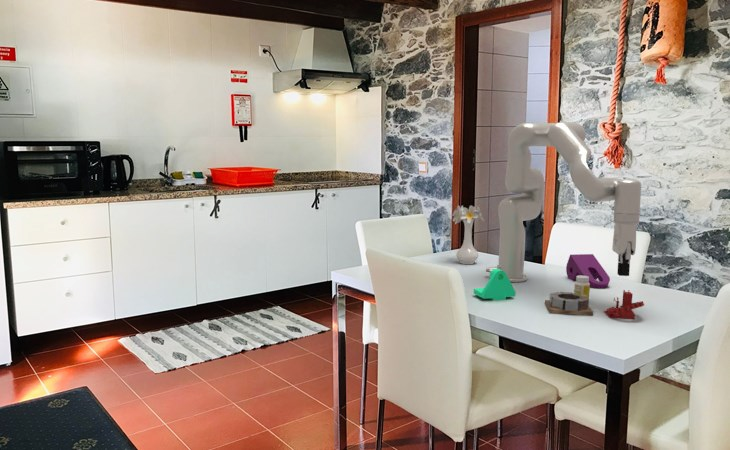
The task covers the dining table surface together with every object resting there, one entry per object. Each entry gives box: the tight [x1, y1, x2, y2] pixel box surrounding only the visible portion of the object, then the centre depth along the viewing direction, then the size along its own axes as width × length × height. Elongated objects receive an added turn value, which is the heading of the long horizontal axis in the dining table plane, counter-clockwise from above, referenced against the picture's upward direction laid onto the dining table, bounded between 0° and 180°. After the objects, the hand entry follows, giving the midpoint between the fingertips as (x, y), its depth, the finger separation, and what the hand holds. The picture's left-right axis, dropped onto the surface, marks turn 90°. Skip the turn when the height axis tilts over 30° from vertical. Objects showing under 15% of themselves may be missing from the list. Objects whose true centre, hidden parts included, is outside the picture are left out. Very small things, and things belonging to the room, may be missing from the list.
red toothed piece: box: [602, 289, 645, 320], centre depth 188 cm, size 11×12×8 cm
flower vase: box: [451, 205, 485, 265], centre depth 261 cm, size 13×18×25 cm
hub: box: [548, 291, 590, 311], centre depth 194 cm, size 11×11×4 cm
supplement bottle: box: [573, 275, 591, 300], centre depth 204 cm, size 5×5×8 cm
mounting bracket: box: [565, 253, 611, 289], centre depth 231 cm, size 9×8×18 cm
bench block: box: [544, 299, 594, 317], centre depth 194 cm, size 13×11×1 cm
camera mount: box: [473, 268, 516, 302], centre depth 207 cm, size 12×8×10 cm, turn 107°
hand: (623, 275), depth 196 cm, fingers closed
